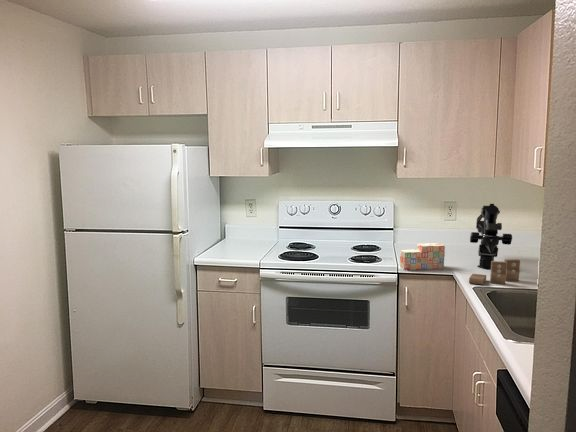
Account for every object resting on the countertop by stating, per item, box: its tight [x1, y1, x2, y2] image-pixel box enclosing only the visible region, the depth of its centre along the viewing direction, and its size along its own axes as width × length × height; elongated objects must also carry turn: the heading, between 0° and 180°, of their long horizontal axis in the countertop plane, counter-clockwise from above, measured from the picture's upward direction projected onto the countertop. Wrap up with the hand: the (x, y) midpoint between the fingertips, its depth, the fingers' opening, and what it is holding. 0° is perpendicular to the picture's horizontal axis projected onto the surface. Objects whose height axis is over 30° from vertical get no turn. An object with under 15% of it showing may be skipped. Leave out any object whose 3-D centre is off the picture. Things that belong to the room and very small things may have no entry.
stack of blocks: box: [399, 242, 446, 271], centre depth 248 cm, size 21×6×12 cm, turn 97°
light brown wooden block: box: [489, 260, 506, 285], centre depth 219 cm, size 3×6×10 cm, turn 77°
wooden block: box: [468, 273, 487, 286], centre depth 222 cm, size 3×6×10 cm
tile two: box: [504, 258, 521, 282], centre depth 223 cm, size 3×6×10 cm, turn 93°
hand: (491, 252), depth 231 cm, fingers closed
